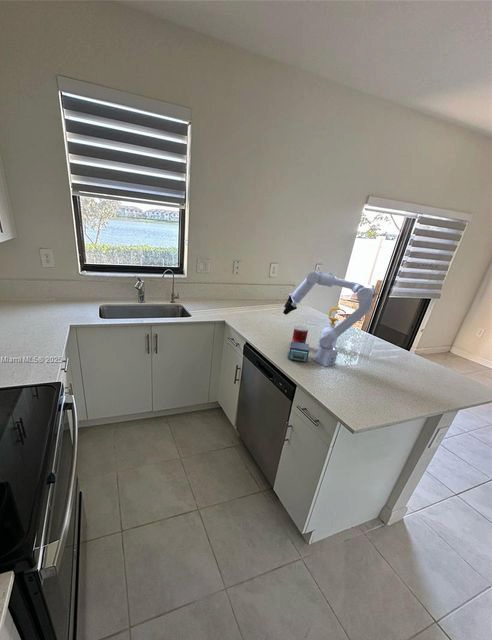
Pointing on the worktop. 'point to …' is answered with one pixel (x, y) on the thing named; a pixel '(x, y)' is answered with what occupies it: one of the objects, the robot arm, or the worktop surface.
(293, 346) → the dispenser
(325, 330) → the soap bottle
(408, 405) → the worktop surface
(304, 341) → the canned food
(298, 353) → the detergent tray
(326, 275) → the robot arm
